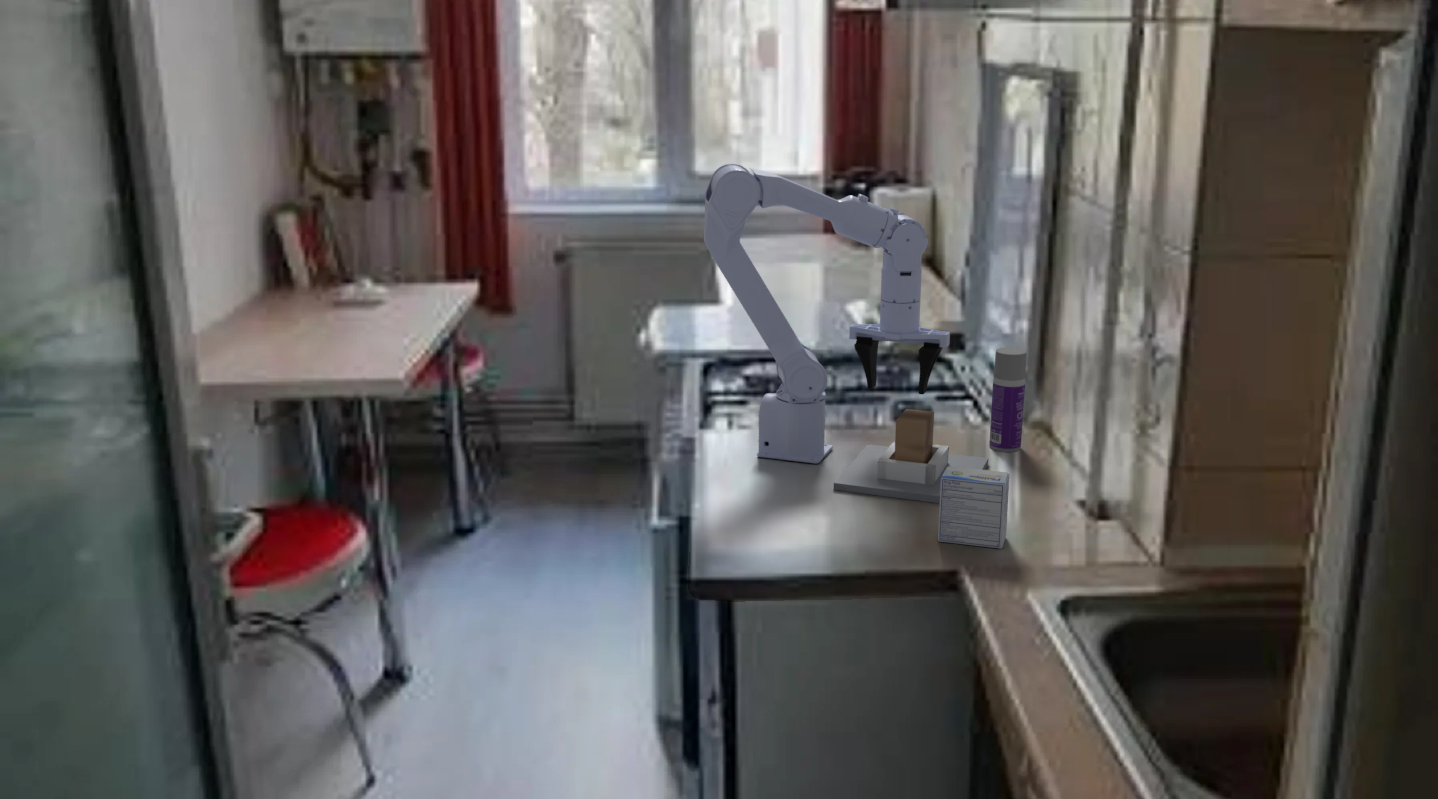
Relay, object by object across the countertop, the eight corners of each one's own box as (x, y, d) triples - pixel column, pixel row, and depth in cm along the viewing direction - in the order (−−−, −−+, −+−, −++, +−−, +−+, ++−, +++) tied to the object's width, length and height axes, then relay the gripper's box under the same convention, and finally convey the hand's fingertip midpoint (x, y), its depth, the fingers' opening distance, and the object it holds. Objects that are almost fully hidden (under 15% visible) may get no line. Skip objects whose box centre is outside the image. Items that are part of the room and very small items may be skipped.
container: (1021, 453, 189) (1027, 355, 185) (989, 451, 190) (994, 354, 186) (1020, 443, 194) (1026, 347, 189) (989, 441, 195) (994, 346, 190)
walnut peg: (904, 462, 182) (906, 408, 180) (931, 465, 181) (934, 411, 179) (893, 475, 177) (896, 420, 175) (922, 478, 176) (924, 423, 173)
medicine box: (1006, 537, 158) (1010, 471, 156) (1002, 550, 154) (1006, 483, 152) (943, 529, 160) (946, 464, 158) (937, 542, 156) (940, 476, 154)
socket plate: (833, 489, 174) (834, 465, 173) (867, 450, 190) (868, 428, 189) (964, 506, 168) (965, 481, 167) (988, 464, 184) (989, 441, 183)
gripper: (844, 300, 183) (841, 391, 187) (943, 308, 178) (939, 402, 181) (858, 291, 189) (855, 379, 193) (954, 299, 184) (950, 389, 188)
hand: (896, 389), depth 188 cm, fingers open, 7 cm apart
